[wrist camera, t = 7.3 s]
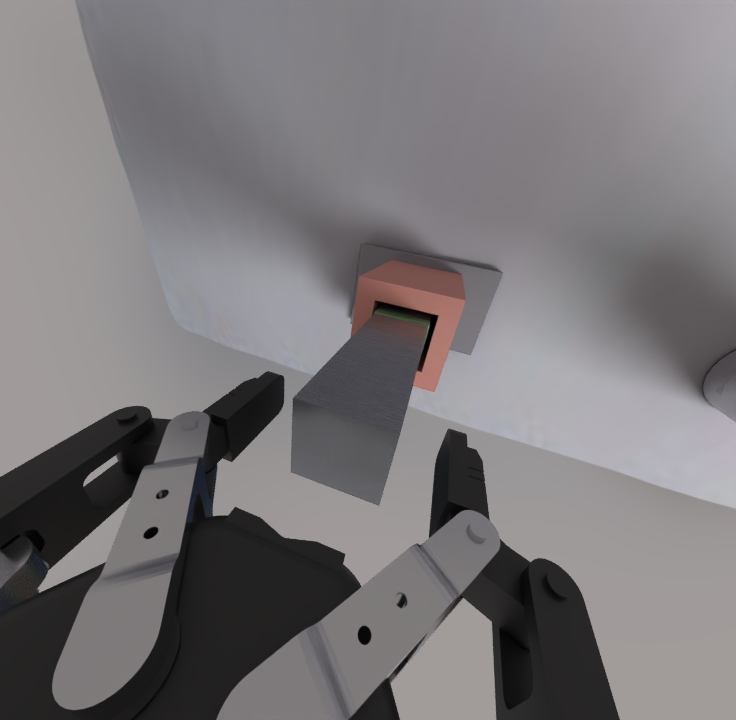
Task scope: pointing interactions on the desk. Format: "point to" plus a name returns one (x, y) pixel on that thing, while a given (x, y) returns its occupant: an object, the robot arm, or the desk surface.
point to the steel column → (359, 405)
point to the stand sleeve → (426, 300)
